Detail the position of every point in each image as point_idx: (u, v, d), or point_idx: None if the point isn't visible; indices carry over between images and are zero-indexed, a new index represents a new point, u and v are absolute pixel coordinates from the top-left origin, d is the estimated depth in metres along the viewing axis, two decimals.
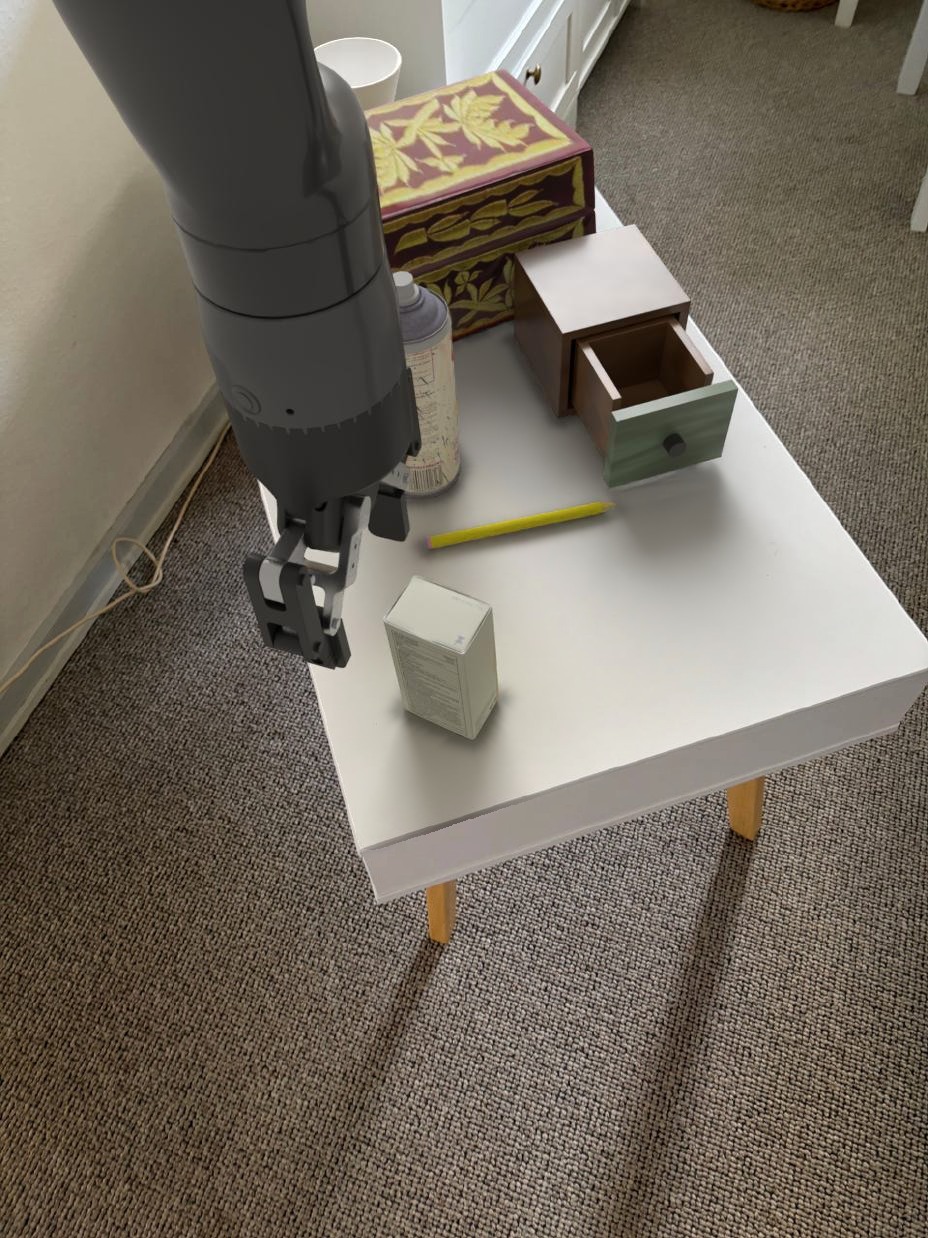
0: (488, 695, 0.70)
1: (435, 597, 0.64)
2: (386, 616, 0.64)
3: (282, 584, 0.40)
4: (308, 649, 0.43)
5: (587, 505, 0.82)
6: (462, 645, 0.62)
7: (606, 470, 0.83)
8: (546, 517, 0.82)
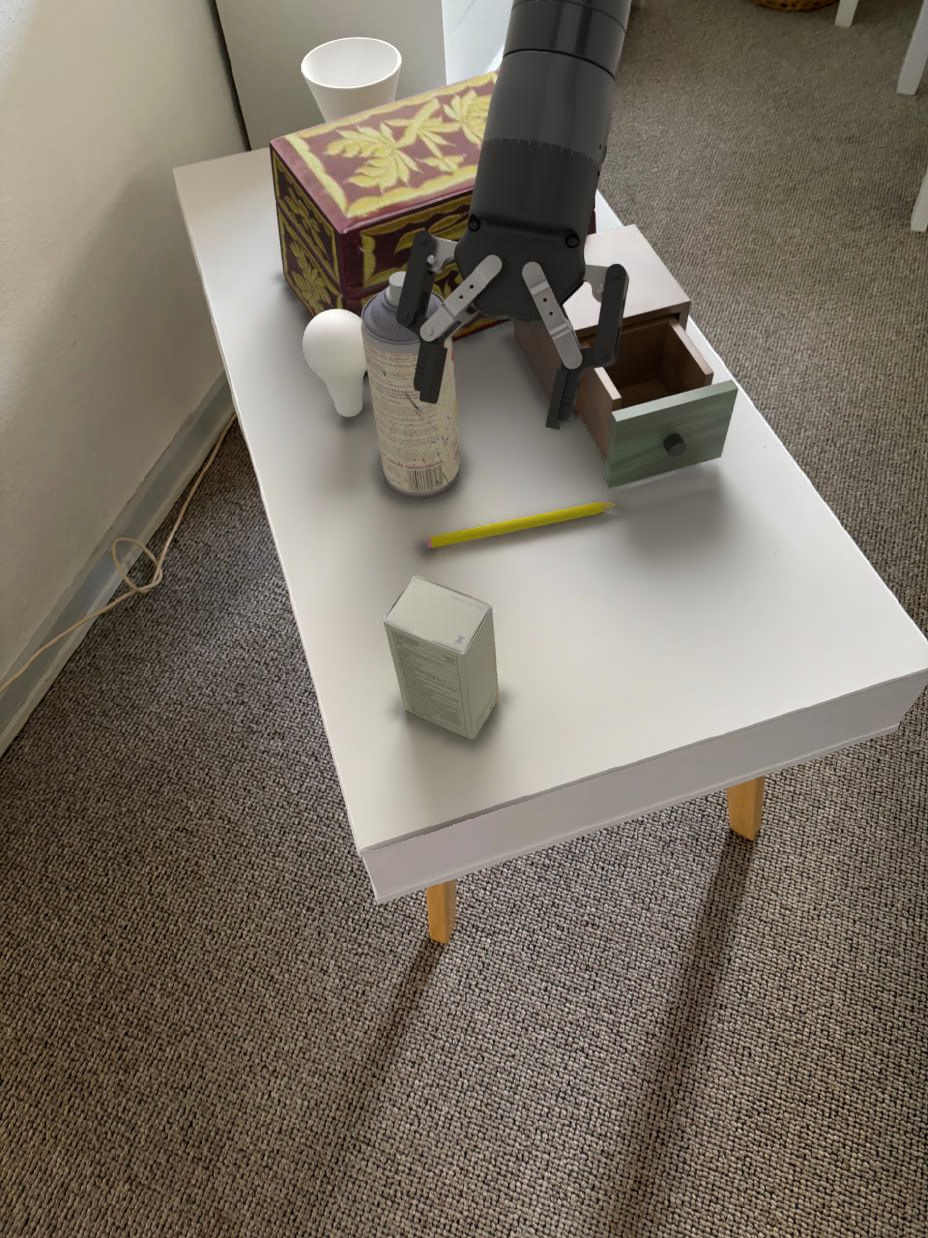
0: (488, 695, 0.70)
1: (435, 597, 0.64)
2: (386, 616, 0.64)
3: None
4: (398, 305, 0.63)
5: (587, 505, 0.82)
6: (462, 645, 0.62)
7: (606, 470, 0.83)
8: (546, 517, 0.82)
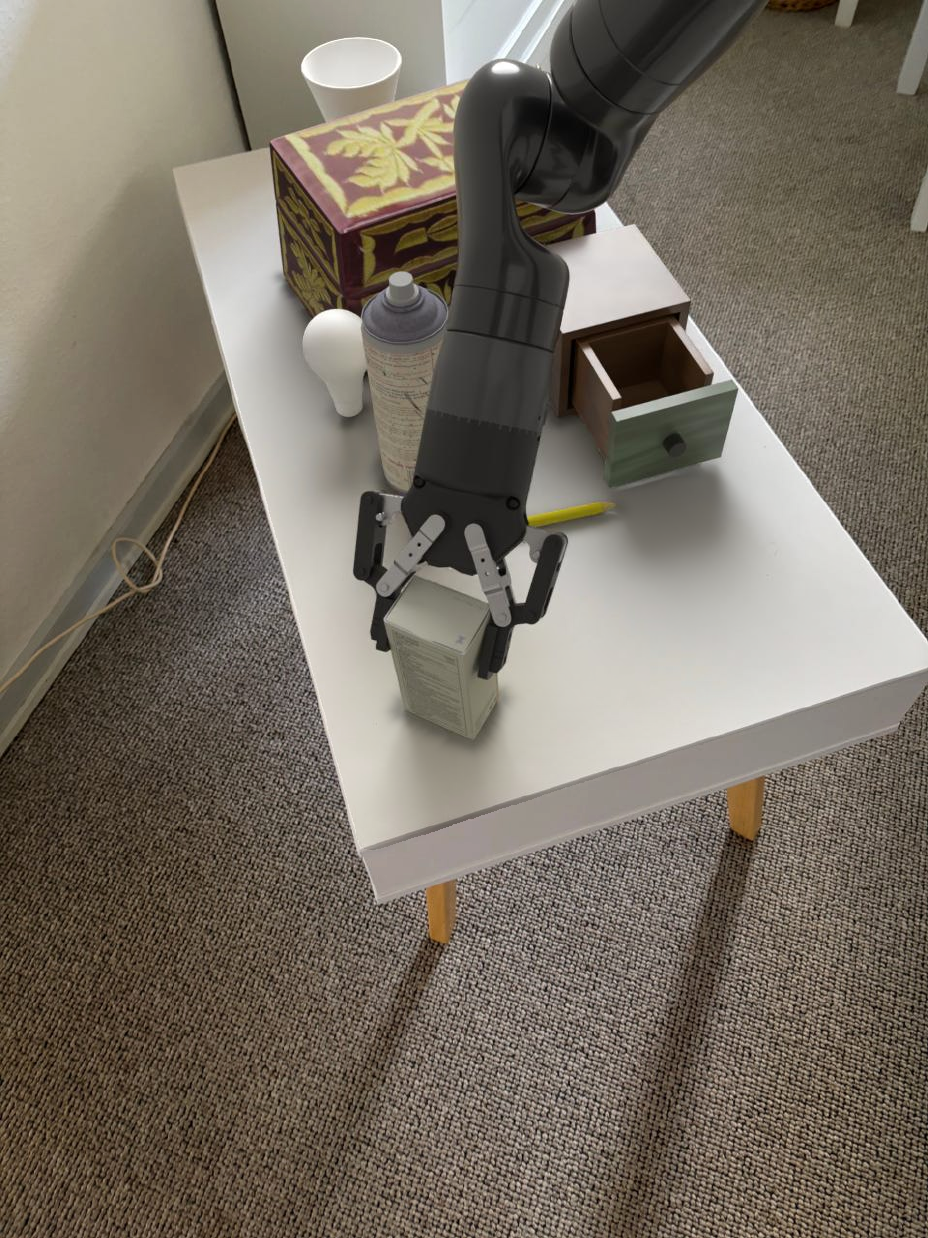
0: (488, 695, 0.70)
1: (435, 597, 0.64)
2: (386, 616, 0.64)
3: None
4: None
5: (587, 505, 0.82)
6: (463, 645, 0.62)
7: (606, 470, 0.83)
8: (546, 517, 0.82)
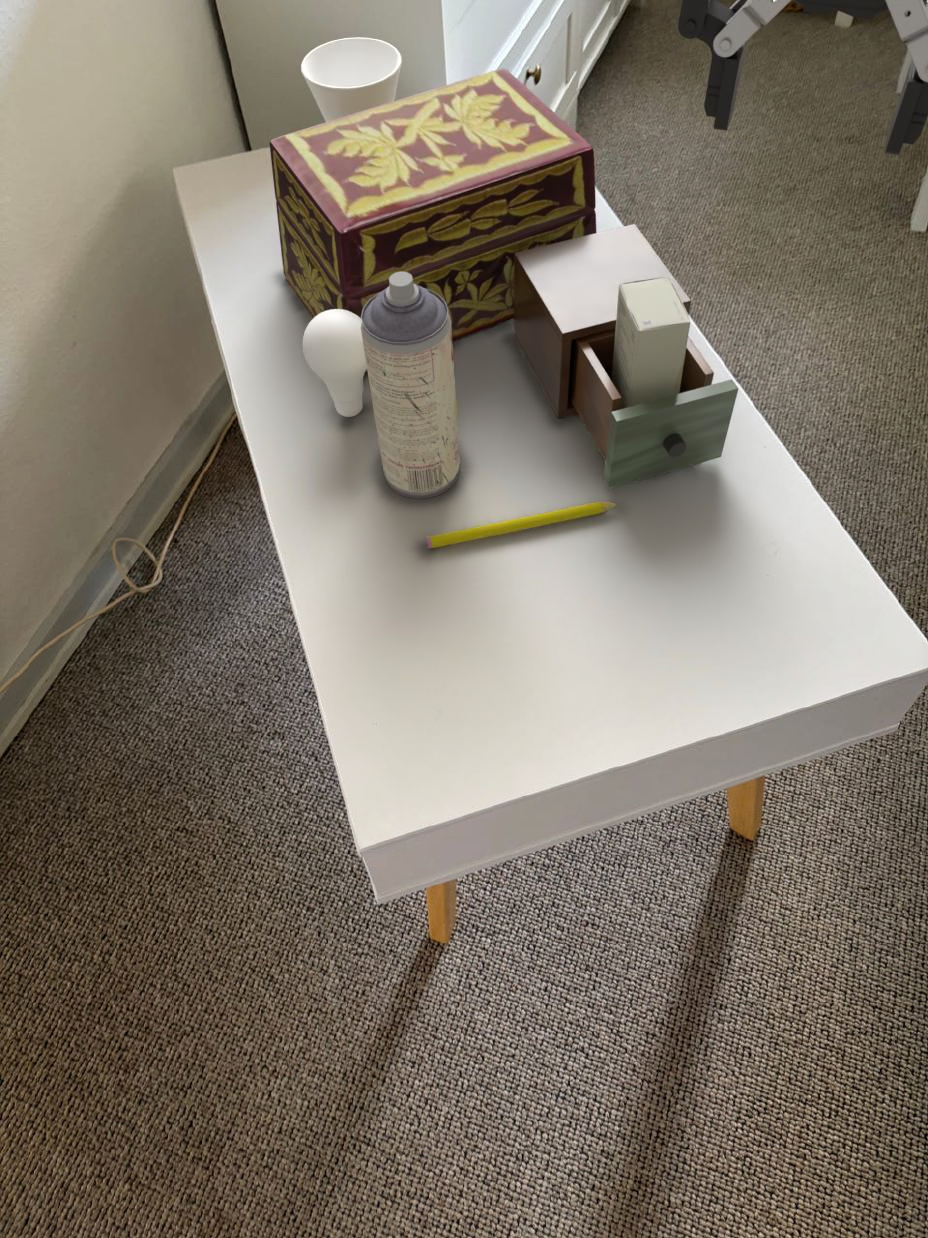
0: None
1: (663, 294, 0.77)
2: (624, 283, 0.78)
3: None
4: (681, 9, 0.46)
5: (587, 505, 0.82)
6: (644, 326, 0.75)
7: (606, 470, 0.83)
8: (546, 517, 0.82)
